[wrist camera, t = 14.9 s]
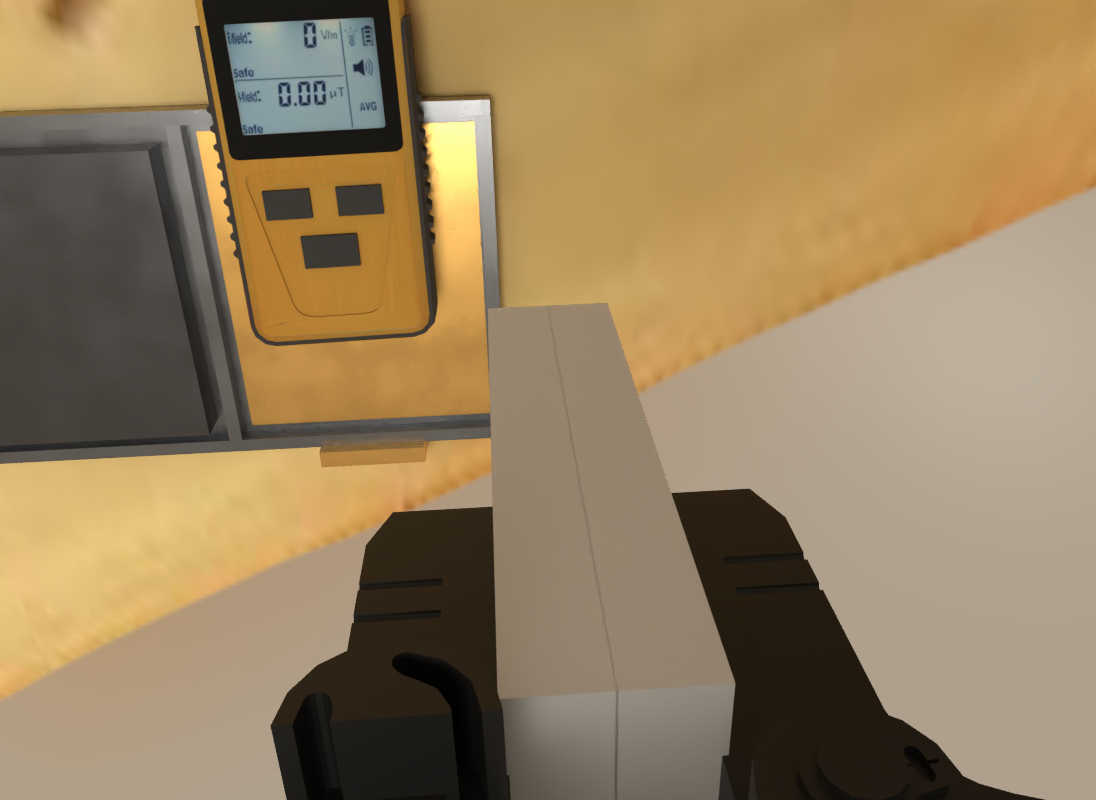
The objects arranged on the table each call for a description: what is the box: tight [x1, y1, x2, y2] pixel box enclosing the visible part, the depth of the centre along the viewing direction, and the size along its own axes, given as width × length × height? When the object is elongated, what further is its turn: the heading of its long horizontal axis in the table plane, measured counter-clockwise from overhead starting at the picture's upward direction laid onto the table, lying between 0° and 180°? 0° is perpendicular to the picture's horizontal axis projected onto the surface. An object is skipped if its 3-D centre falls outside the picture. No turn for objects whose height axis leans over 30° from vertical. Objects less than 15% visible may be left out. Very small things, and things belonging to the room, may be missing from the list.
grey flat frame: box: [0, 95, 500, 467], centre depth 42 cm, size 17×26×2 cm, turn 91°
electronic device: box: [195, 0, 438, 346], centre depth 38 cm, size 8×16×3 cm, turn 2°
